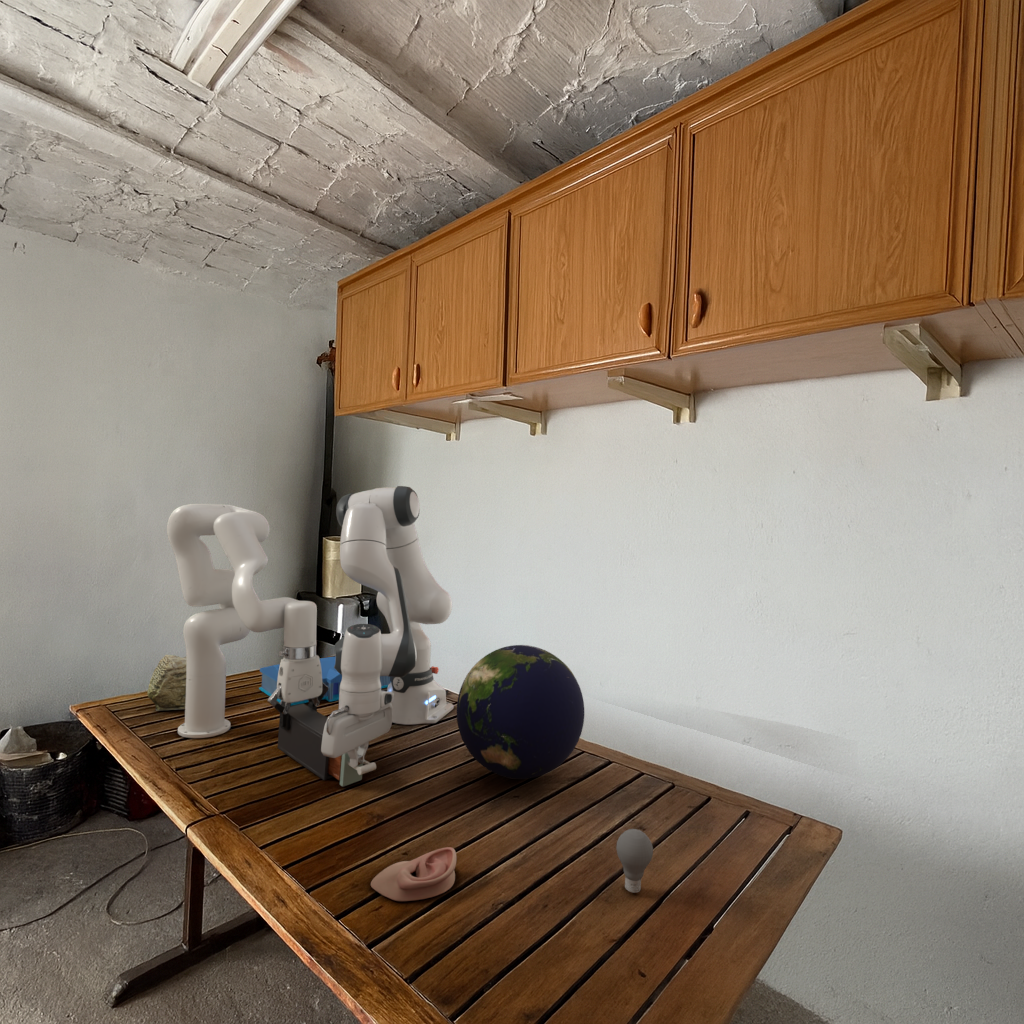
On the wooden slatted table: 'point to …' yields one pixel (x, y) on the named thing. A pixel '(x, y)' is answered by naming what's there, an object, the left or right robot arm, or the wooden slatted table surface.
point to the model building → (328, 678)
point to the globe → (520, 712)
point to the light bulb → (634, 857)
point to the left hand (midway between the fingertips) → (298, 724)
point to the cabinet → (305, 739)
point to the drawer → (348, 769)
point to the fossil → (169, 683)
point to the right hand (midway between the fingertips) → (356, 764)
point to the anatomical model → (418, 876)
